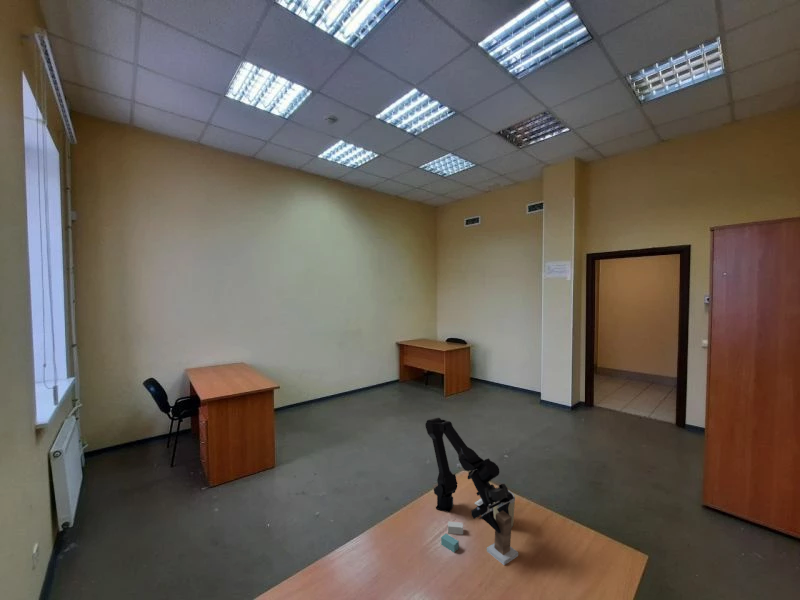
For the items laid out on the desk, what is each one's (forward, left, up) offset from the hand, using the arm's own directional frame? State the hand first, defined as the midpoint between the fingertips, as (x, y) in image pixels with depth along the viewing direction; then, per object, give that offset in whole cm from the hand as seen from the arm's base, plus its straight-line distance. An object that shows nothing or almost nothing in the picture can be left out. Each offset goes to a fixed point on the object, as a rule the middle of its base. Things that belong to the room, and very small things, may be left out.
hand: (505, 529), depth 122 cm
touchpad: (-8, +27, -10) cm, 30 cm away
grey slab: (-1, +1, -10) cm, 10 cm away
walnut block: (-1, +1, -8) cm, 8 cm away
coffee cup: (-2, +19, -10) cm, 21 cm away
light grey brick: (-20, +6, -10) cm, 23 cm away
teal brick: (-20, -3, -10) cm, 23 cm away
